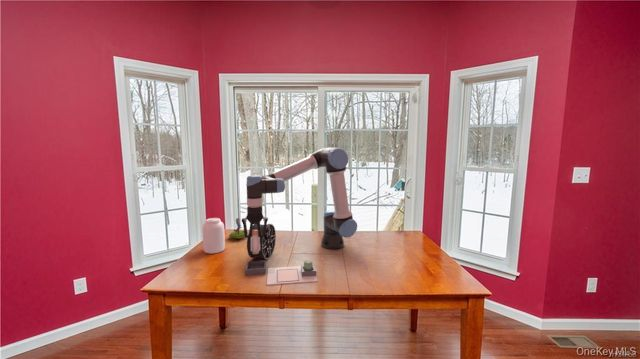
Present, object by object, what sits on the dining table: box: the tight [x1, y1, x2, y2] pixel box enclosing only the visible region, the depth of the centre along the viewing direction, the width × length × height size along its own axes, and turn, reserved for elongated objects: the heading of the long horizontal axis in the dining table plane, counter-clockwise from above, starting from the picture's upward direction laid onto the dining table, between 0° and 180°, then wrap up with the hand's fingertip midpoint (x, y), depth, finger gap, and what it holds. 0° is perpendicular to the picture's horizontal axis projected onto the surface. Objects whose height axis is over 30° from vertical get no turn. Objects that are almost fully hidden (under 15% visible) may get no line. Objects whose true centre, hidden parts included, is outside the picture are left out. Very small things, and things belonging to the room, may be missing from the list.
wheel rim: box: [246, 223, 277, 260], centre depth 156 cm, size 20×9×20 cm, turn 168°
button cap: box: [303, 260, 314, 271], centre depth 136 cm, size 4×4×4 cm
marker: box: [252, 230, 259, 254], centre depth 139 cm, size 3×3×12 cm
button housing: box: [300, 264, 317, 277], centre depth 137 cm, size 7×7×2 cm
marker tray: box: [244, 259, 267, 276], centre depth 140 cm, size 10×10×3 cm
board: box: [266, 265, 318, 286], centre depth 135 cm, size 24×17×1 cm
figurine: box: [228, 217, 249, 240], centre depth 188 cm, size 14×13×15 cm
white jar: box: [202, 217, 226, 255], centre depth 166 cm, size 12×12×20 cm
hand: (255, 249), depth 139 cm, fingers closed on marker, 3 cm apart
